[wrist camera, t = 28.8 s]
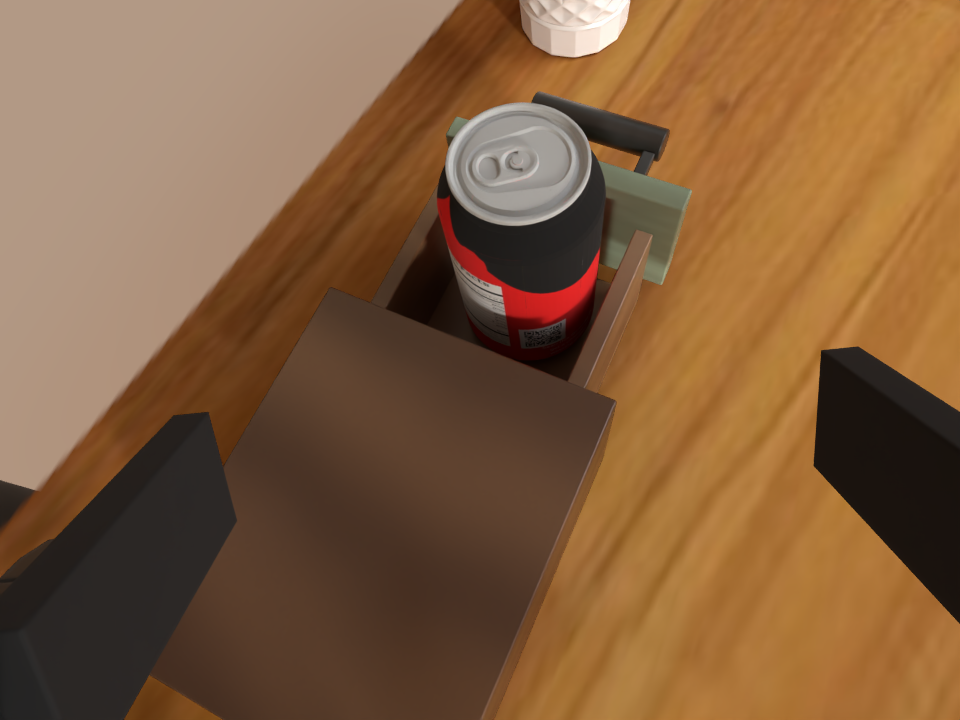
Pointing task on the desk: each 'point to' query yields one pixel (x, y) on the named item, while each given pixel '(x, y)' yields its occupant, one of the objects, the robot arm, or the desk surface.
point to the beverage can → (523, 227)
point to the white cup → (573, 24)
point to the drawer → (624, 246)
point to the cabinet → (387, 527)
